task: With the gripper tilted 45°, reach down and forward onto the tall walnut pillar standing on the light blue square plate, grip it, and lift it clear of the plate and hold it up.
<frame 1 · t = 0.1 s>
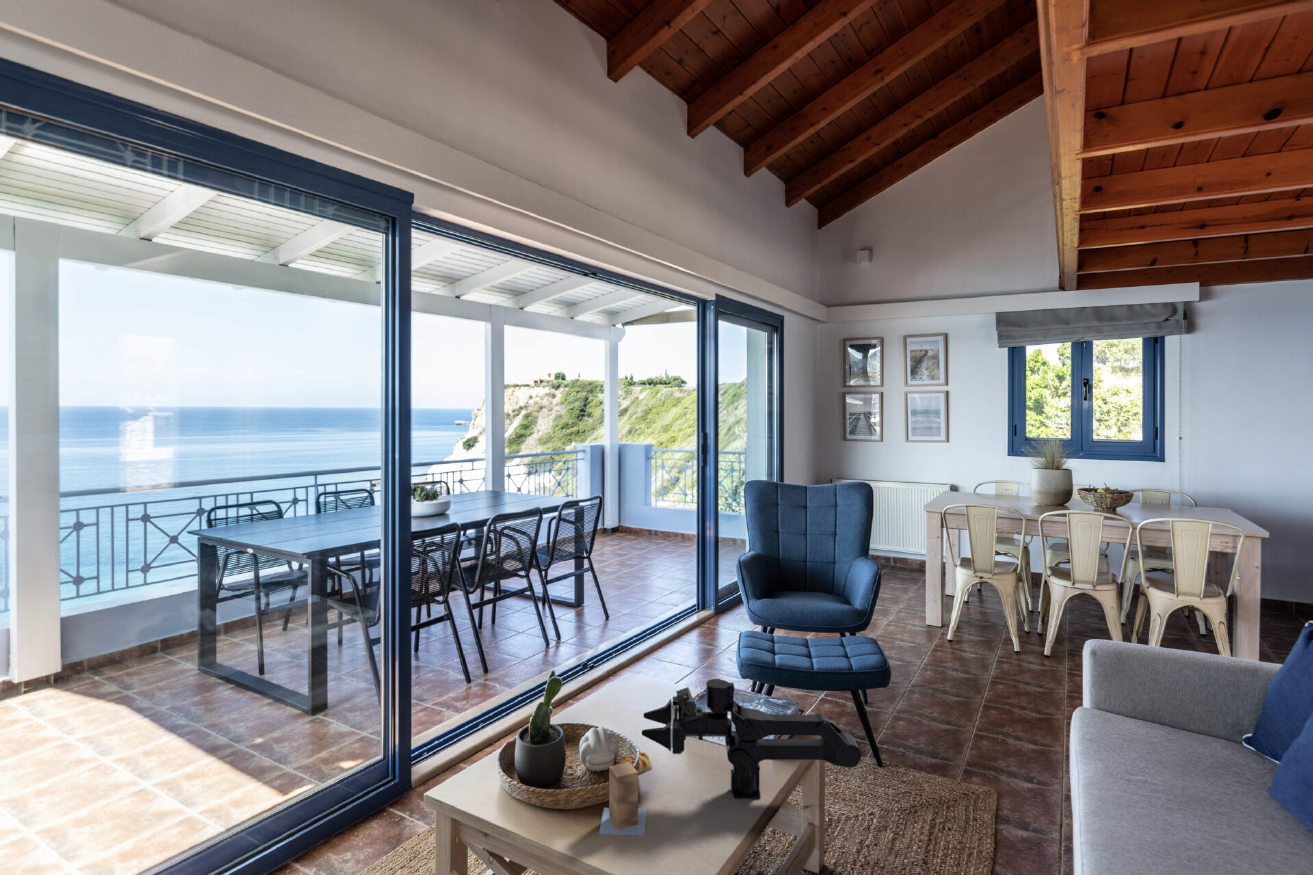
hand: (642, 723, 171), 17 cm above the table, tool horizontal, fingers open, 9 cm apart
pastry: (634, 771, 181), on the table
walnut pillar: (623, 820, 158), resting on light blue square plate
light blue square plate: (623, 822, 158), on the table
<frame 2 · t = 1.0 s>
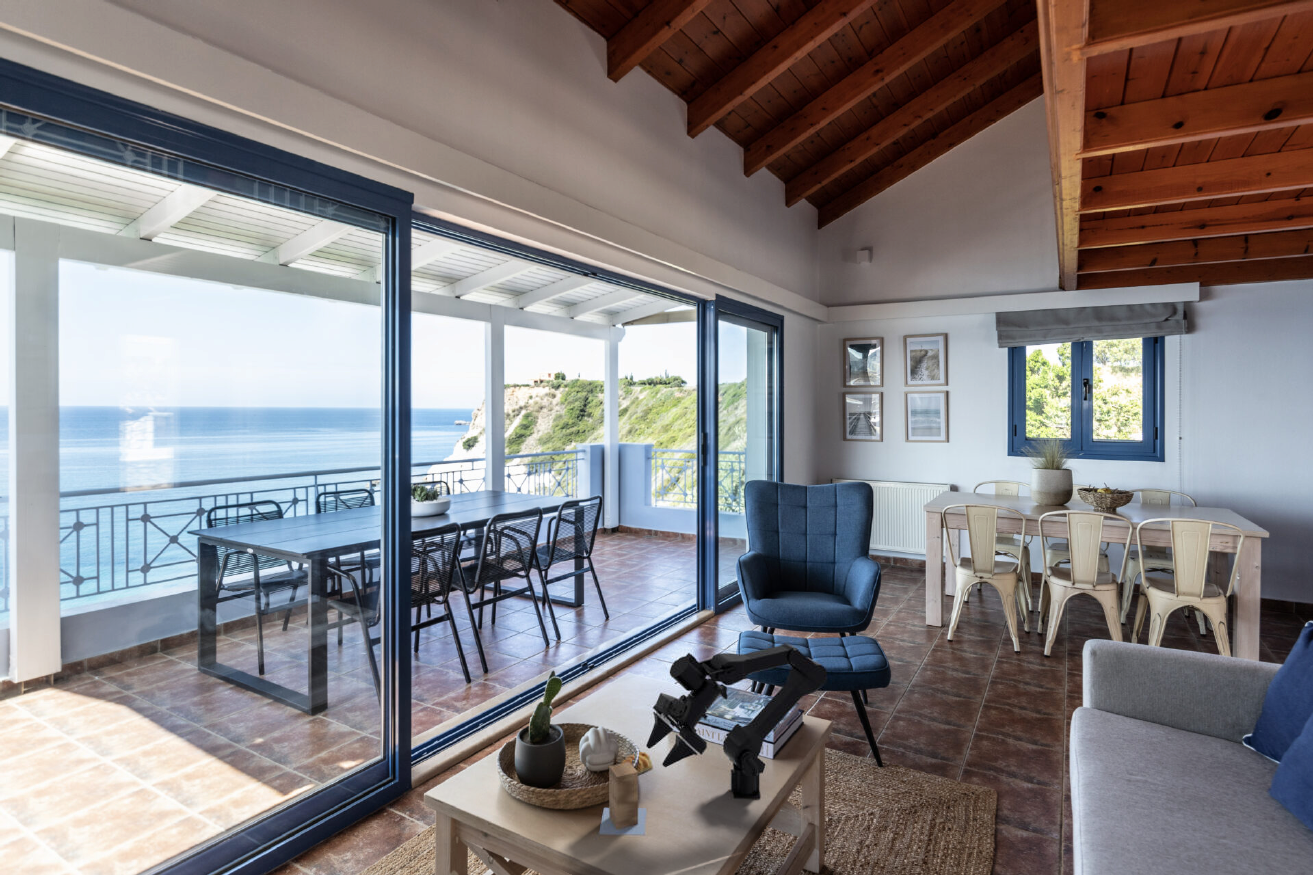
hand: (655, 756, 160), 14 cm above the table, tool tilted 45°, fingers open, 9 cm apart
nothing on the table moved.
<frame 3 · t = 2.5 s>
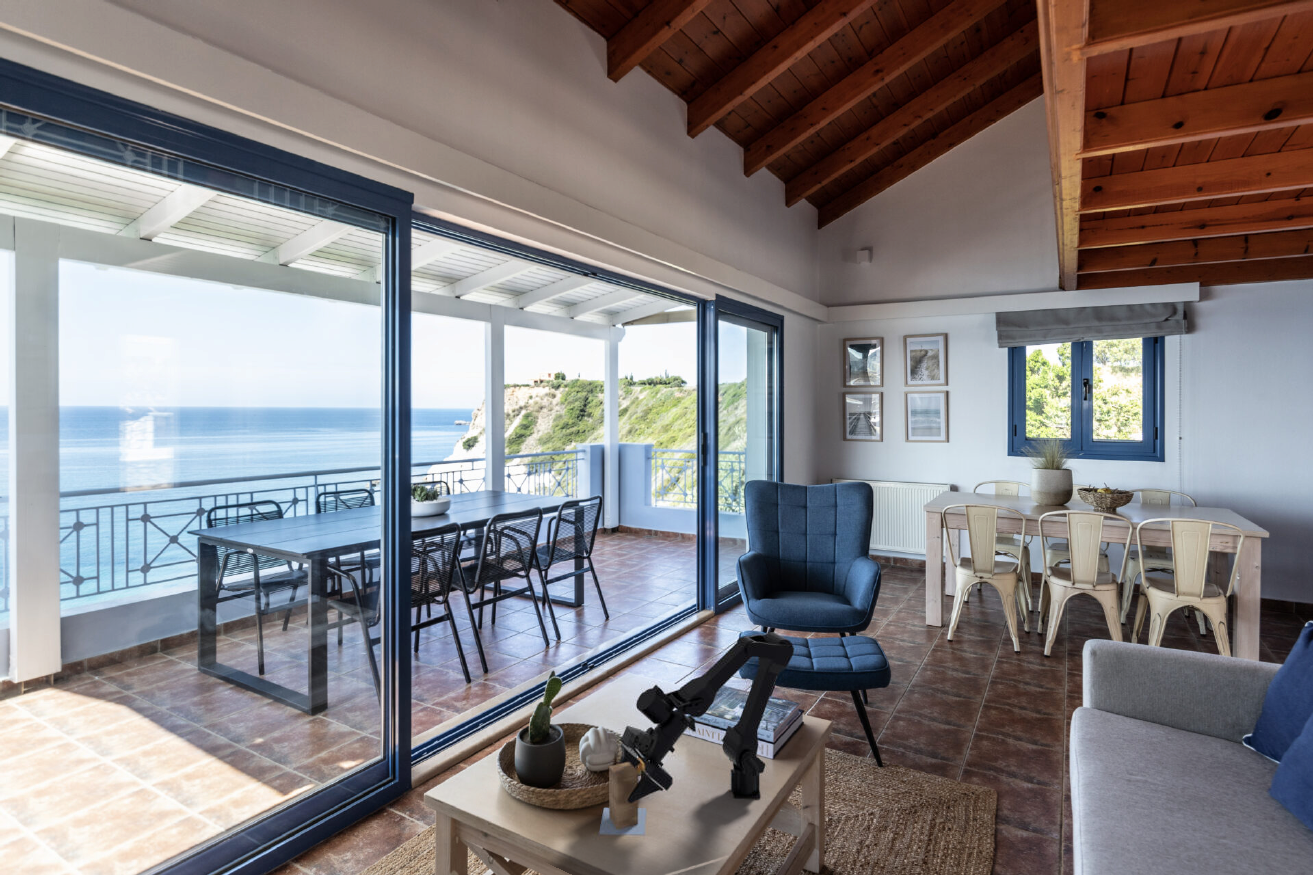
hand: (621, 791, 157), 7 cm above the table, tool tilted 45°, fingers open, 9 cm apart
nothing on the table moved.
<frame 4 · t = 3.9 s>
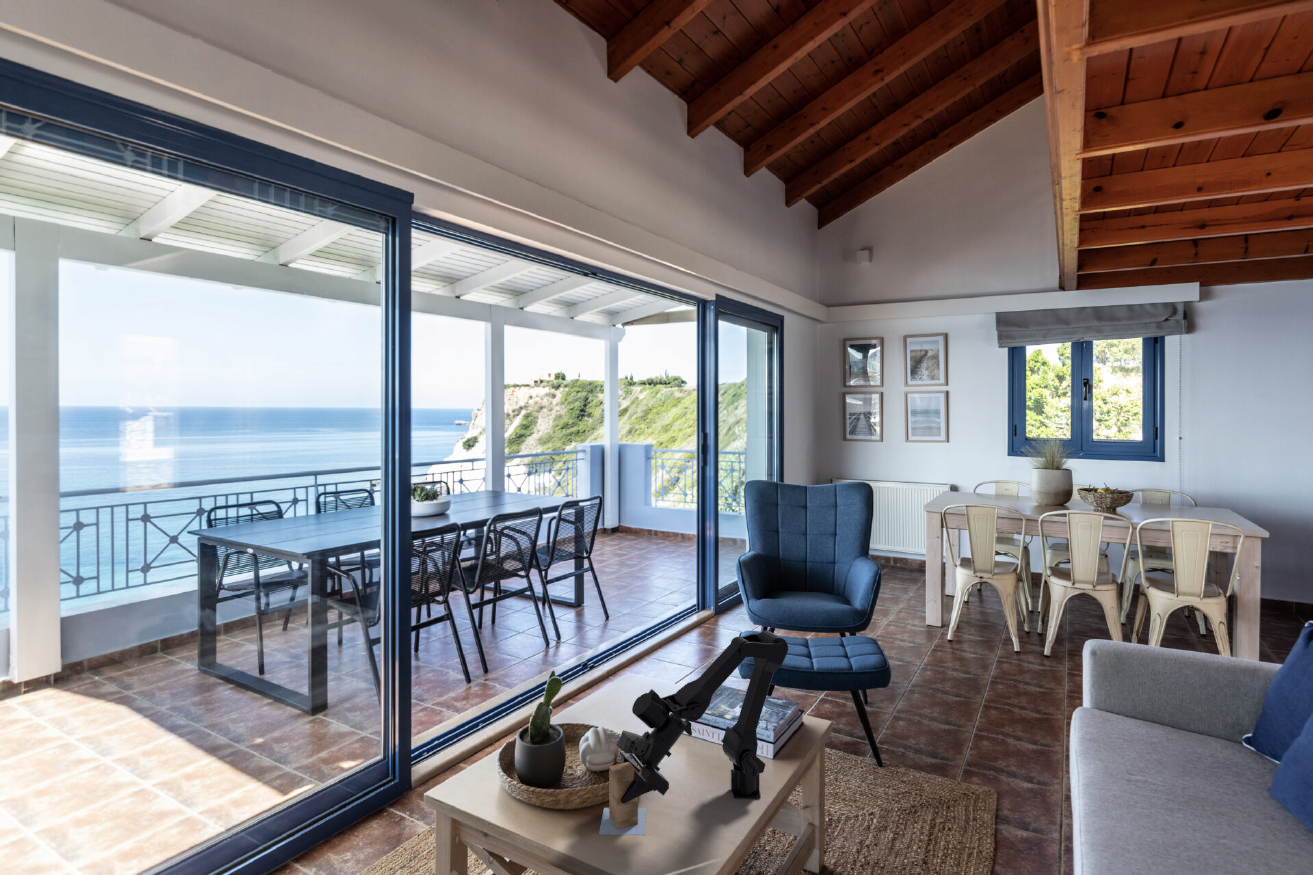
hand: (617, 796, 157), 7 cm above the table, tool tilted 45°, fingers closed on walnut pillar, 5 cm apart
walnut pillar: (623, 820, 158), resting on light blue square plate, touching gripper
everything else where it was.
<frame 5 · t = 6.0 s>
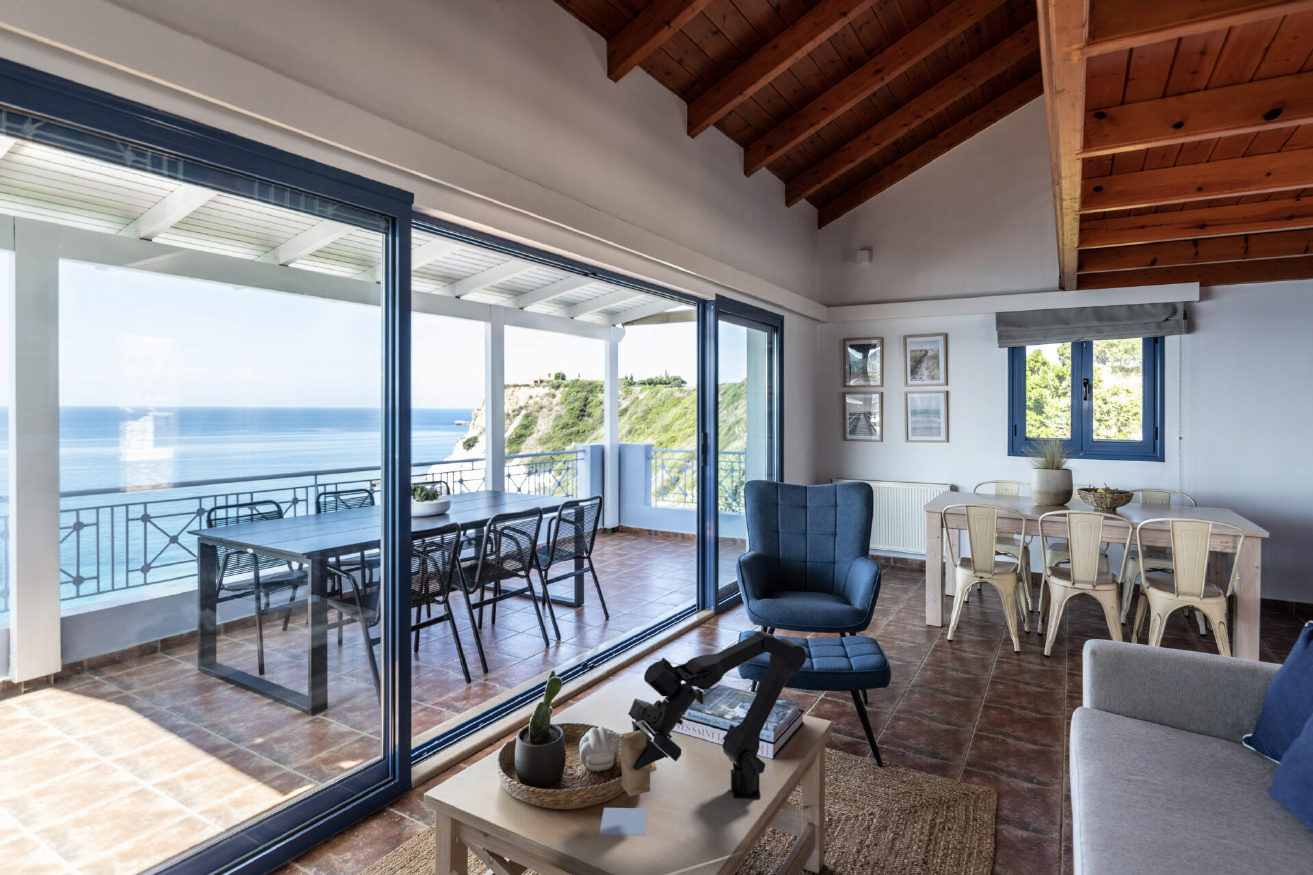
hand: (630, 763, 158), 13 cm above the table, tool tilted 45°, fingers closed on walnut pillar, 5 cm apart
walnut pillar: (635, 788, 158), point 7 cm above the table, touching gripper
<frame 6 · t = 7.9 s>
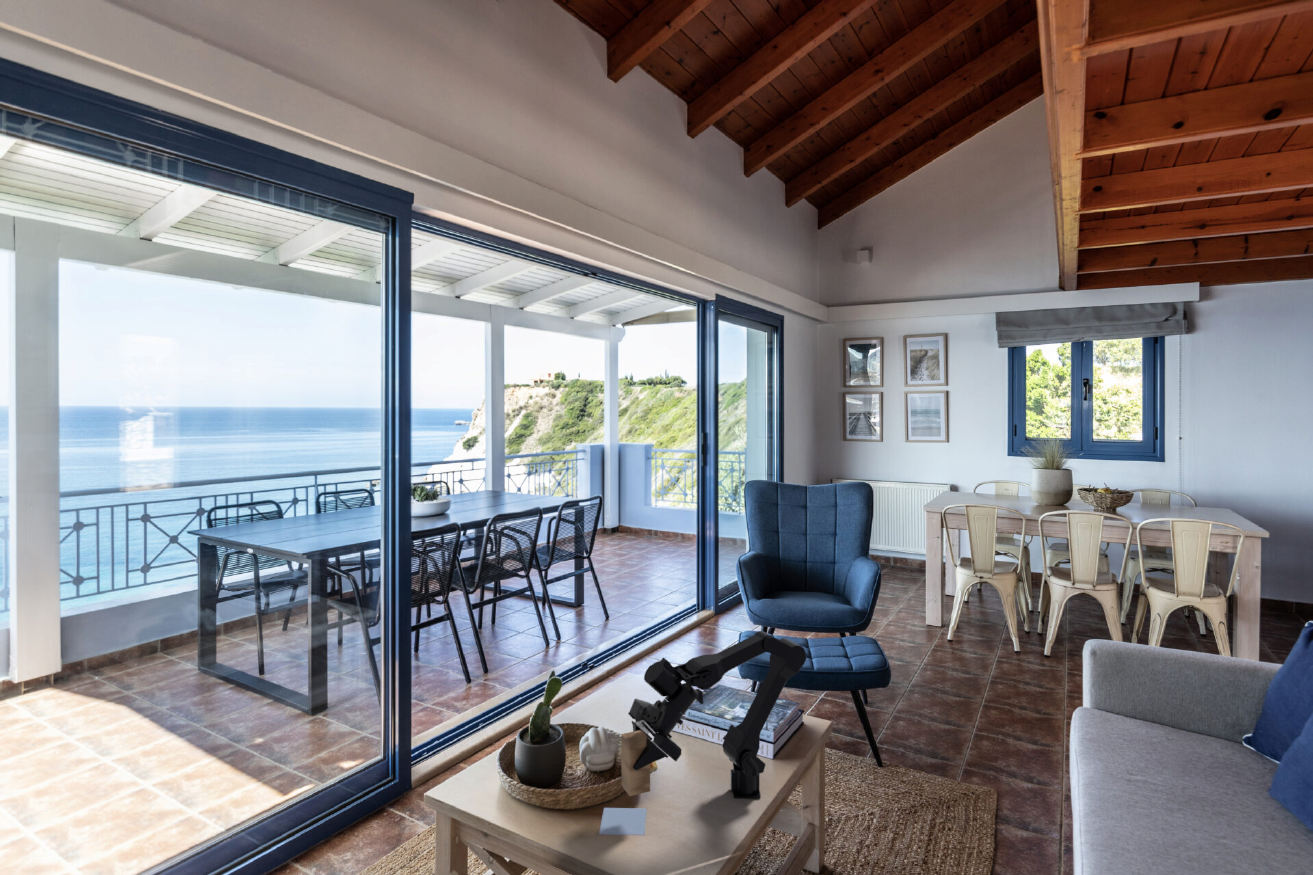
hand: (630, 763, 158), 13 cm above the table, tool tilted 45°, fingers closed on walnut pillar, 5 cm apart
walnut pillar: (635, 788, 158), point 7 cm above the table, touching gripper
at the end: walnut pillar point 7.4 cm above the table; the gripper is holding walnut pillar; walnut pillar touching gripper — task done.
